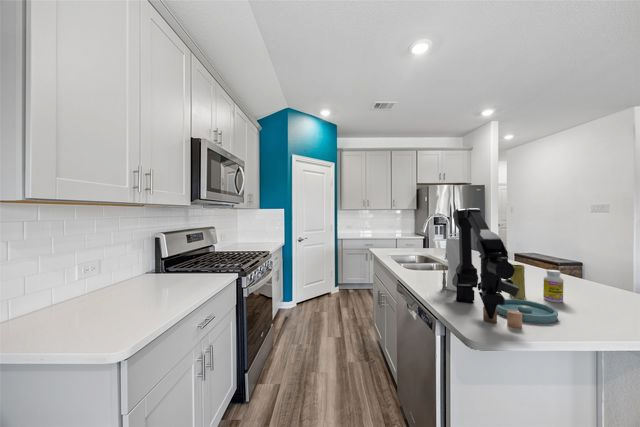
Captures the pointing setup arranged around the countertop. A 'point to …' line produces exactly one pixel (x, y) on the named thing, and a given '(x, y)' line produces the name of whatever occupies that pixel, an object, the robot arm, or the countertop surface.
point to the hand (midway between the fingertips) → (490, 316)
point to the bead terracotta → (514, 319)
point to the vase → (519, 281)
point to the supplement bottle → (553, 286)
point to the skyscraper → (451, 261)
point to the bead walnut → (486, 318)
